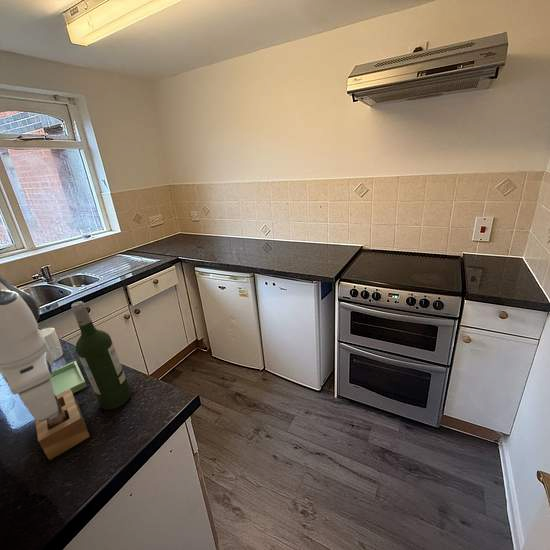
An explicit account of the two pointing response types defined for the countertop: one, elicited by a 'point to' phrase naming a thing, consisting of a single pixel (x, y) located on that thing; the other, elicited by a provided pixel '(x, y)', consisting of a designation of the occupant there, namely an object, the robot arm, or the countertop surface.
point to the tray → (67, 379)
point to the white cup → (52, 342)
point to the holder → (63, 428)
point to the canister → (59, 418)
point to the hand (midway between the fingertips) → (52, 410)
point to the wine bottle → (100, 361)
